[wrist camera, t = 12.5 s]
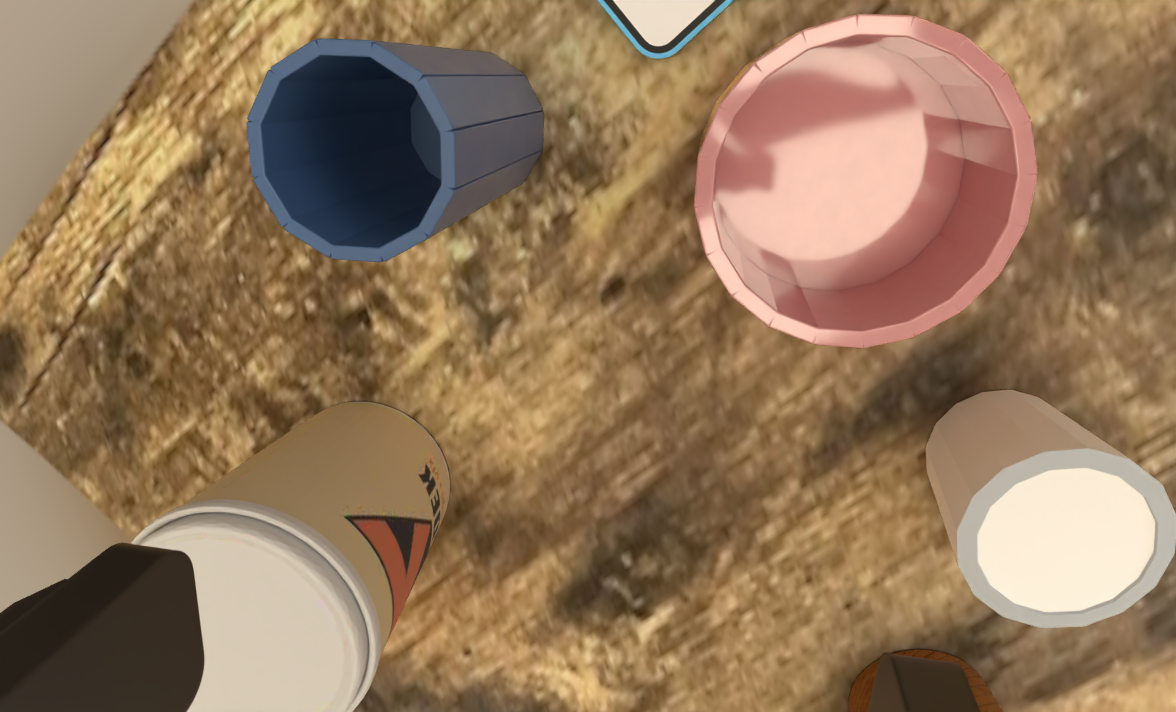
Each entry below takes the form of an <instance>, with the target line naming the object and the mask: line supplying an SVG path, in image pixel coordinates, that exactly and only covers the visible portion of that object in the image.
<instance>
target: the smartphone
mask: <svg viewBox="0 0 1176 712" xmlns="http://www.w3.org/2000/svg"><path fill="white" fill-rule="evenodd" d="M597 1H598V2H599V3H600V4H601V5H602V7H603V8H604V9H605V10H606V12H607V13H608V14H609V15H610V17H611V18H612V19H613V20H614V21H615V23H616V24H617V25H618V26H619V28H620V29H621V30H622V31H623V33H624V34H625V35H626V36H627V37H628V39H629V40H630V41H631V42H632V44H633V45H634V46H635V47H636V48H637V50H638V51H640V52H641V53H642V54H644V55H645V56H648V57H651V58H657V59H661V58H667V57H670V56H673V55H674V54H676V53H677V52H678V51H680V50H681V49H682V48H683V47H684V46H685V45H686V44H687V43H688V42H690V41H691V40H692V39H693V38H694V37H695V36H696V35H697V34H698V33H699V32H700V31H702V30H703V29H704V28H705V27H706V26H707V25H708V24H709V23H710V22H711V21H712V20H714V19H715V18H716V17H717V16H718V15H719V14H720V13H721V12H722V11H723V10H725V9H726V8H727V7H728V6H729V5H730V4H731V3H732V2H733V1H734V0H597Z"/></svg>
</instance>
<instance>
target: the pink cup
mask: <svg viewBox="0 0 1176 712" xmlns="http://www.w3.org/2000/svg"><path fill="white" fill-rule="evenodd" d="M1037 172H1038V170H1037V162H1036V153H1035V145H1034V137H1033V129H1032V122H1031V121H1030V116H1029V114H1028V112H1027V110H1026V109H1025V107H1024V105H1023V103H1022V101H1021V99H1020V97H1019V95H1018V93H1017V91H1016V89H1015V87H1014V85H1013V83H1012V81H1011V79H1010V77H1009V76H1008V74H1007V73H1005V70H1004V69H1003V68H1002V67H1001V66H999V65H998V64H997V63H996V62H995V61H994V60H993V59H992V58H990V57H989V56H988V55H987V54H986V53H985V52H984V51H983V50H982V49H980V48H979V47H978V46H977V45H976V44H975V43H974V42H973V41H971V40H970V39H969V38H968V37H965V35H963V34H961V33H958V32H956V31H953V30H950V29H948V28H945V27H943V26H940V25H938V24H935V23H932V22H930V21H927V20H925V19H922V18H920V17H917V16H914V17H913V16H912V15H885V14H857V15H855V14H854V15H851V16H847V17H844V18H841V19H837V20H834V21H831V22H827V23H824V24H820V25H817V26H814V27H810V28H807V29H804V30H802V31H800V32H797V33H795V34H793V35H791V36H789V37H787V38H785V39H783V40H782V41H780V42H779V43H777V44H776V45H774V46H773V47H771V48H770V49H768V50H767V51H765V52H764V53H762V54H761V55H759V56H758V57H756V58H755V59H753V60H752V61H750V62H749V63H748V64H747V65H746V66H744V68H743V69H742V70H741V71H740V73H739V74H738V75H737V76H736V77H735V78H734V80H733V81H732V82H731V83H730V85H729V86H728V87H727V89H726V90H725V91H724V92H723V94H722V95H721V96H720V97H719V98H718V100H717V102H716V103H715V106H714V108H713V111H712V113H711V116H710V118H709V121H708V123H707V126H706V128H705V131H704V133H703V136H702V138H701V140H700V145H699V151H698V158H697V171H696V183H695V196H694V211H695V215H696V219H697V224H698V228H699V232H700V236H701V240H702V244H703V248H704V253H705V254H706V258H707V259H708V261H709V262H710V264H711V266H712V267H713V269H714V270H715V272H716V274H717V275H718V277H719V278H720V280H721V281H722V283H723V285H724V286H725V288H726V289H727V291H728V293H729V294H730V295H732V298H734V299H735V300H736V301H737V302H739V303H740V304H741V305H742V306H743V307H745V308H746V309H747V310H748V311H749V312H751V313H752V314H753V315H754V316H756V317H757V318H758V319H759V320H760V321H762V322H763V323H764V324H765V325H767V326H769V327H770V328H773V329H775V330H778V331H780V332H783V333H786V334H788V335H791V336H793V337H796V338H798V339H801V340H803V341H806V342H808V343H813V344H815V345H827V346H840V347H854V348H862V347H863V348H867V347H872V346H876V345H881V344H886V343H890V342H895V341H900V340H904V339H909V338H913V336H917V335H919V334H921V333H922V332H924V331H926V330H928V329H930V328H932V327H934V326H936V325H938V324H939V323H941V322H943V321H945V320H947V319H949V318H951V317H953V316H954V315H956V314H958V313H959V312H962V311H963V310H964V309H965V308H966V307H967V306H968V305H969V304H970V303H971V302H972V301H973V300H974V299H975V298H976V297H977V296H978V295H979V294H980V293H981V292H983V291H984V290H985V289H986V288H987V287H988V286H989V285H990V284H991V283H992V282H993V281H994V280H995V279H996V278H997V277H998V276H999V274H1000V273H1001V271H1002V270H1003V268H1004V266H1005V264H1006V263H1007V261H1008V259H1009V257H1010V255H1011V254H1012V252H1013V250H1014V248H1015V247H1016V245H1017V243H1018V241H1019V240H1020V238H1021V236H1022V234H1023V233H1024V231H1025V229H1026V226H1027V224H1028V219H1029V215H1030V210H1031V205H1032V200H1033V196H1034V191H1035V186H1036V182H1037V177H1038V174H1037Z"/></svg>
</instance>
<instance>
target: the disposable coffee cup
mask: <svg viewBox="0 0 1176 712" xmlns="http://www.w3.org/2000/svg"><path fill="white" fill-rule="evenodd" d="M894 654H898V655H905V656H912V657H919V658H926V659H933V660H940V661H947V662H954V663H958V664H959V665H960V666H961V667H962V669H963V671H964V673H965V675H966V677H967V680H968V682H969V685H970V687H971V690H972V692H973V695H974V697H975V700H976V702H977V705H978V707H979V710H980V712H1004V711H1003V710H1002V709H1001V707H1000V706H999V704H998V702H997V701H996V700H995V698H994V697H993V695H992V693H991V692H990V690H989V689H988V688H987V686H986V684H985V682H984V681H983V679H982V678H981V676H980V675H979V674H978V673H977V672H976V671H975V670H974V669H973V668H972V667H971V666H970V665H968V664H967V663H965V662H963V661H962V660H960V659H958V658H956V657H954V656H951V655H948V654H946V653H942V652H936V651H930V650H909V651H902V652H897V653H894ZM879 660H880V659H879ZM879 660H877V661H875V662H874V663H873V664H871V665H870V666H868V667H867V668H866V669H865V670H864V671H863V672H862V673H861V674H860V675H859V676H858V677H857V679H856V681H855V683H854V684H853V686H852V688H851V692H850V695H849V701H848V711H849V712H868V708H869V703H870V698H871V693H872V688H873V684H874V679H875V674H876V670H877V666H878V662H879Z"/></svg>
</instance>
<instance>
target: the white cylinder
mask: <svg viewBox="0 0 1176 712" xmlns="http://www.w3.org/2000/svg"><path fill="white" fill-rule="evenodd" d="M926 471H927V474H928V477H929V480H930V483H931V486H932V489H933V492H934V495H935V498H936V501H937V504H938V507H939V510H940V513H941V516H942V519H943V522H944V525H945V528H946V531H947V534H948V537H949V540H950V543H951V546H952V549H953V552H954V555H955V559H956V562H957V565H958V567H959V568H960V570H961V572H962V574H963V576H964V578H965V580H966V581H967V583H968V585H969V587H970V589H971V591H972V593H973V594H974V596H976V597H977V598H978V599H980V600H981V601H982V602H984V603H985V604H986V605H988V606H989V607H990V608H992V609H993V610H994V611H996V612H997V613H998V614H1000V615H1001V616H1002V617H1004V618H1008V619H1011V620H1015V621H1018V622H1022V623H1025V624H1029V625H1032V626H1036V627H1039V628H1055V627H1081V626H1086V625H1089V624H1091V623H1094V622H1097V621H1100V620H1103V619H1105V618H1108V617H1111V616H1114V615H1116V614H1119V613H1122V612H1124V611H1125V610H1127V609H1128V608H1129V607H1130V606H1132V605H1133V604H1134V603H1135V602H1137V601H1138V600H1139V599H1140V598H1142V597H1143V596H1144V595H1146V594H1147V593H1148V592H1149V591H1151V590H1152V589H1153V588H1154V587H1156V585H1157V583H1158V581H1159V580H1160V578H1161V576H1162V575H1163V573H1164V571H1165V569H1166V568H1167V566H1168V564H1169V563H1170V561H1171V559H1172V557H1173V556H1174V554H1175V543H1176V514H1175V511H1174V509H1173V507H1172V505H1171V503H1170V501H1169V498H1168V496H1167V494H1166V492H1165V490H1164V488H1163V485H1162V484H1161V483H1160V482H1158V481H1157V480H1156V479H1155V478H1153V477H1152V476H1151V475H1150V474H1148V473H1147V472H1146V471H1144V470H1143V469H1142V468H1141V467H1139V466H1138V465H1137V464H1136V463H1134V462H1133V461H1132V460H1130V459H1129V458H1128V457H1126V456H1125V455H1123V454H1122V453H1120V452H1119V451H1117V450H1116V449H1114V448H1113V447H1111V446H1110V445H1108V444H1107V443H1105V442H1104V441H1102V440H1101V439H1100V438H1098V437H1097V436H1095V435H1094V434H1092V433H1091V432H1089V431H1088V430H1086V429H1085V428H1083V427H1082V426H1080V425H1079V424H1077V423H1076V422H1074V421H1073V420H1072V419H1070V418H1069V417H1067V416H1066V415H1064V414H1063V413H1061V412H1060V411H1058V410H1057V409H1055V408H1054V407H1052V406H1051V405H1049V404H1048V403H1046V402H1045V401H1044V400H1042V399H1041V398H1039V397H1037V396H1033V395H1029V394H1026V393H1022V392H1018V391H1015V390H1000V391H989V392H981V393H979V394H977V395H974V396H972V397H970V398H968V399H966V400H963V401H961V402H959V403H957V404H955V405H954V406H953V407H952V408H951V409H950V410H949V411H948V412H947V413H946V414H945V415H944V416H943V417H942V418H941V419H940V420H939V421H938V422H937V423H936V424H935V426H934V429H933V431H932V433H931V435H930V438H929V440H928V442H927V445H926Z"/></svg>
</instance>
